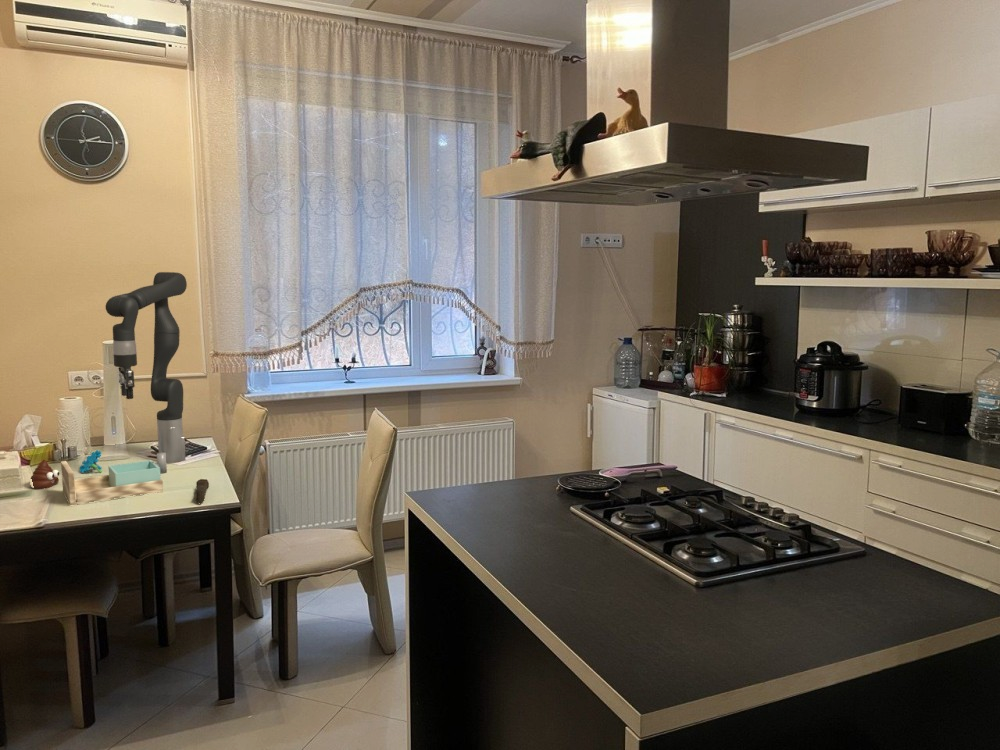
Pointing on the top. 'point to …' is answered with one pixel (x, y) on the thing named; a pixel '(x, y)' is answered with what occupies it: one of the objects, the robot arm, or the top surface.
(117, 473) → the crate
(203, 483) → the dark brown lumpy rod
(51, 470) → the poop emoji
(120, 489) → the bay
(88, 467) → the gear
